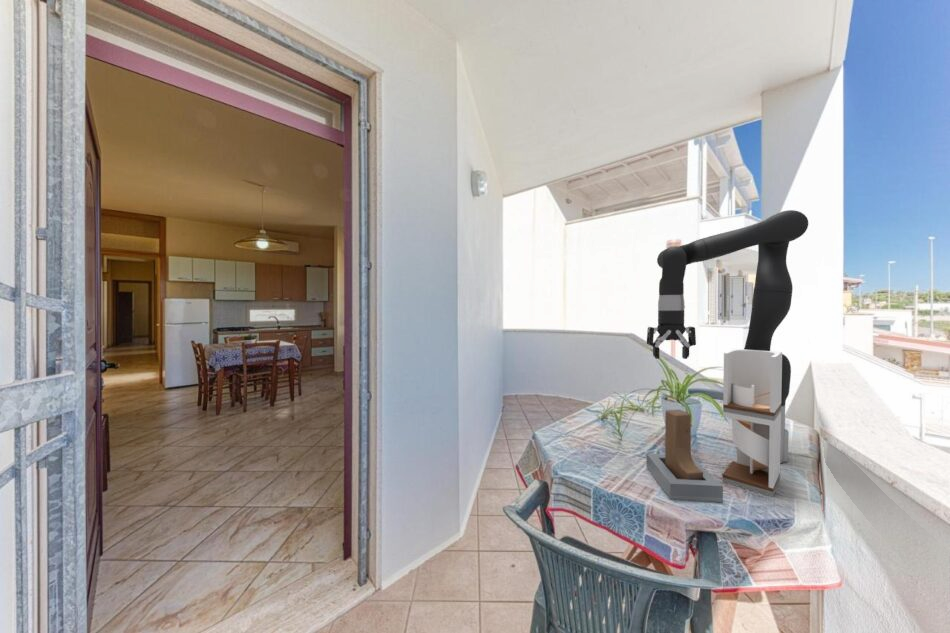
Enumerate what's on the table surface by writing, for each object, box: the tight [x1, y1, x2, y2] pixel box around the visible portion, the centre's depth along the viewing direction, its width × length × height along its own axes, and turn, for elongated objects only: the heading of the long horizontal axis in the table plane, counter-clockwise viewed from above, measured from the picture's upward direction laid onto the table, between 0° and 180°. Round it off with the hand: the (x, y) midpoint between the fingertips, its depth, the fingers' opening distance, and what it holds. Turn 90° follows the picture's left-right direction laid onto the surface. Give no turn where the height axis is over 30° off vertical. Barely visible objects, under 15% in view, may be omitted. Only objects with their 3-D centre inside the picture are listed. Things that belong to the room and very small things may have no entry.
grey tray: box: [646, 453, 724, 503], centre depth 97 cm, size 12×18×4 cm
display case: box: [721, 348, 783, 498], centre depth 96 cm, size 11×11×35 cm
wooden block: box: [664, 409, 703, 480], centre depth 95 cm, size 9×4×18 cm, turn 7°
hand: (670, 358), depth 117 cm, fingers open, 8 cm apart
